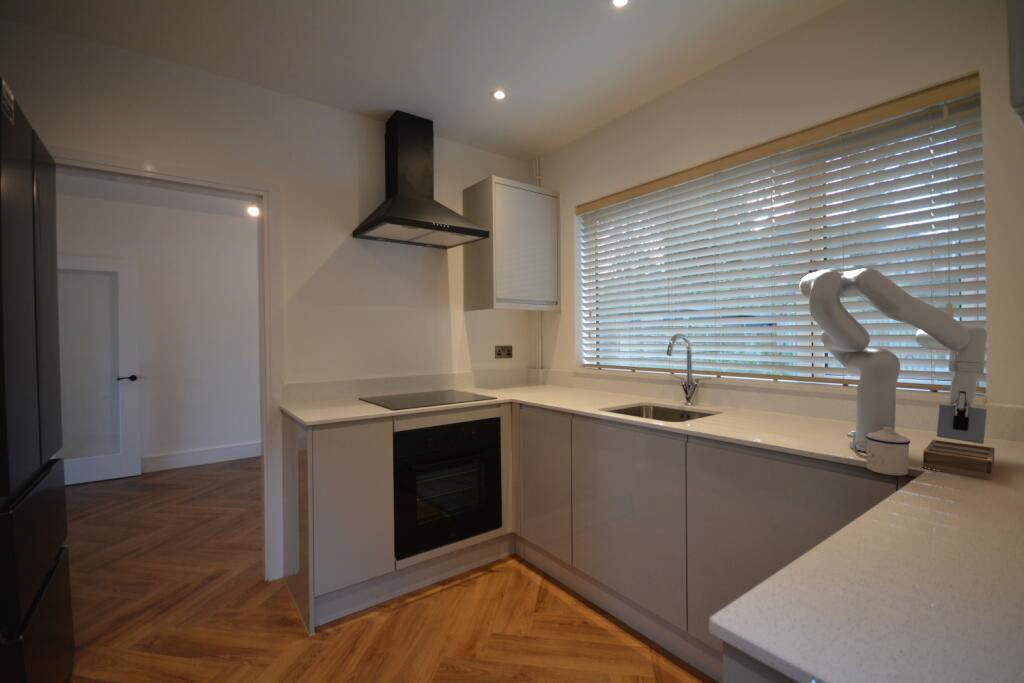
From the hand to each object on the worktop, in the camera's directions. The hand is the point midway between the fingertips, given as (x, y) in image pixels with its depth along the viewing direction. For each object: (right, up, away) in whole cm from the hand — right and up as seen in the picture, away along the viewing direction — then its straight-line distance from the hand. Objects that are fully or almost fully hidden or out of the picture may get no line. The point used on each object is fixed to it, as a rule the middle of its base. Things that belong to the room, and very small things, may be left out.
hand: (960, 428), depth 139 cm
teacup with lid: (-36, -8, -15) cm, 40 cm away
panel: (0, -3, 0) cm, 3 cm away
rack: (-11, -8, -11) cm, 18 cm away
